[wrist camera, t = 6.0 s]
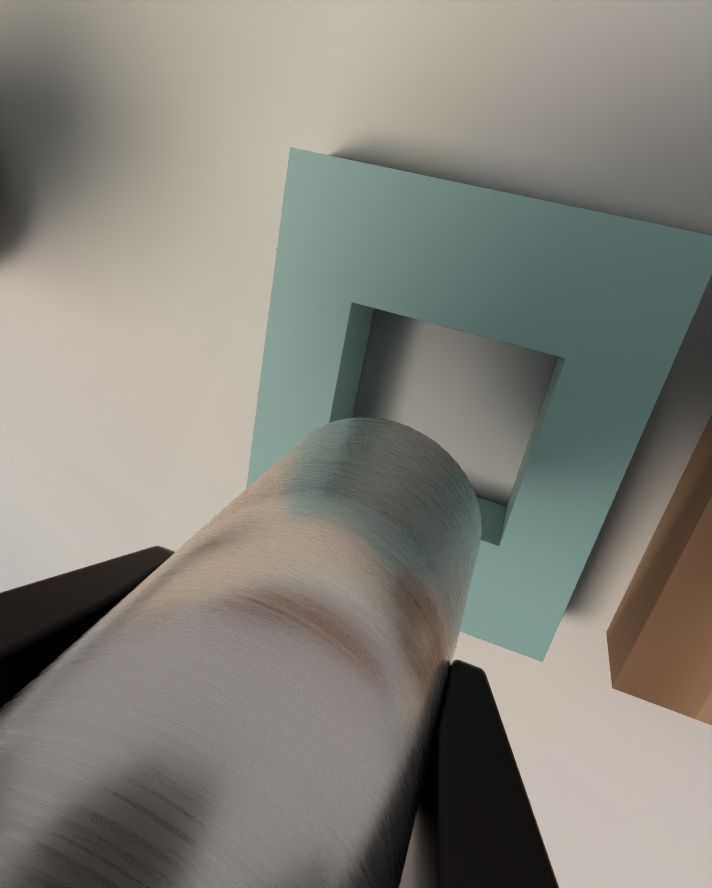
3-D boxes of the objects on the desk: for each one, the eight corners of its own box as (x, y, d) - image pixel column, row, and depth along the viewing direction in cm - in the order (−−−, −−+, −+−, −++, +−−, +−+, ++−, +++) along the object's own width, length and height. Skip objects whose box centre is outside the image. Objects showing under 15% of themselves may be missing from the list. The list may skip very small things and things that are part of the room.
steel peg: (510, 457, 10) (382, 1110, 3) (448, 637, 11) (272, 1329, 4) (291, 390, 11) (-250, 756, 4) (263, 568, 12) (-139, 1057, 5)
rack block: (701, 234, 14) (727, 238, 12) (544, 610, 19) (542, 661, 17) (326, 155, 17) (290, 147, 14) (271, 514, 22) (238, 548, 19)
